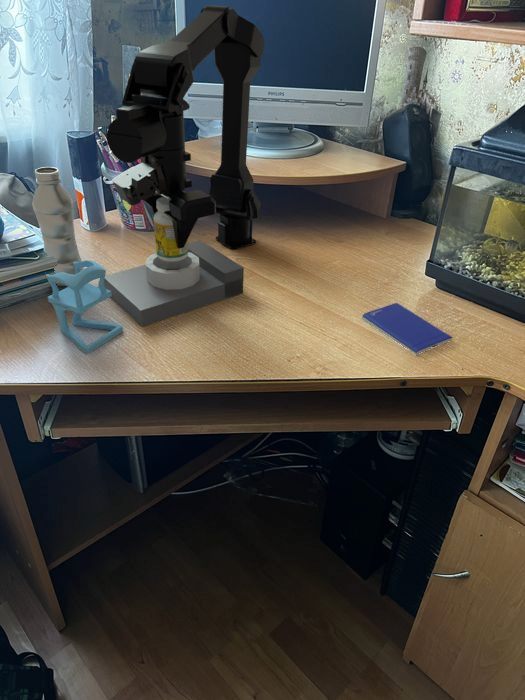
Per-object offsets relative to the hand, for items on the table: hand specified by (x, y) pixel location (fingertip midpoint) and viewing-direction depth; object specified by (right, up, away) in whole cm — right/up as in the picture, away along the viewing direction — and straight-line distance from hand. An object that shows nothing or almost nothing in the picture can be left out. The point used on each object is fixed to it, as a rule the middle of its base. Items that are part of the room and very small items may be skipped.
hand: (171, 241), depth 92 cm
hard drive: (+39, -15, -1) cm, 42 cm away
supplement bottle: (0, -2, +2) cm, 3 cm away
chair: (-12, -16, -6) cm, 21 cm away
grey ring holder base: (0, -8, +5) cm, 10 cm away
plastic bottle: (-20, -6, +7) cm, 22 cm away
